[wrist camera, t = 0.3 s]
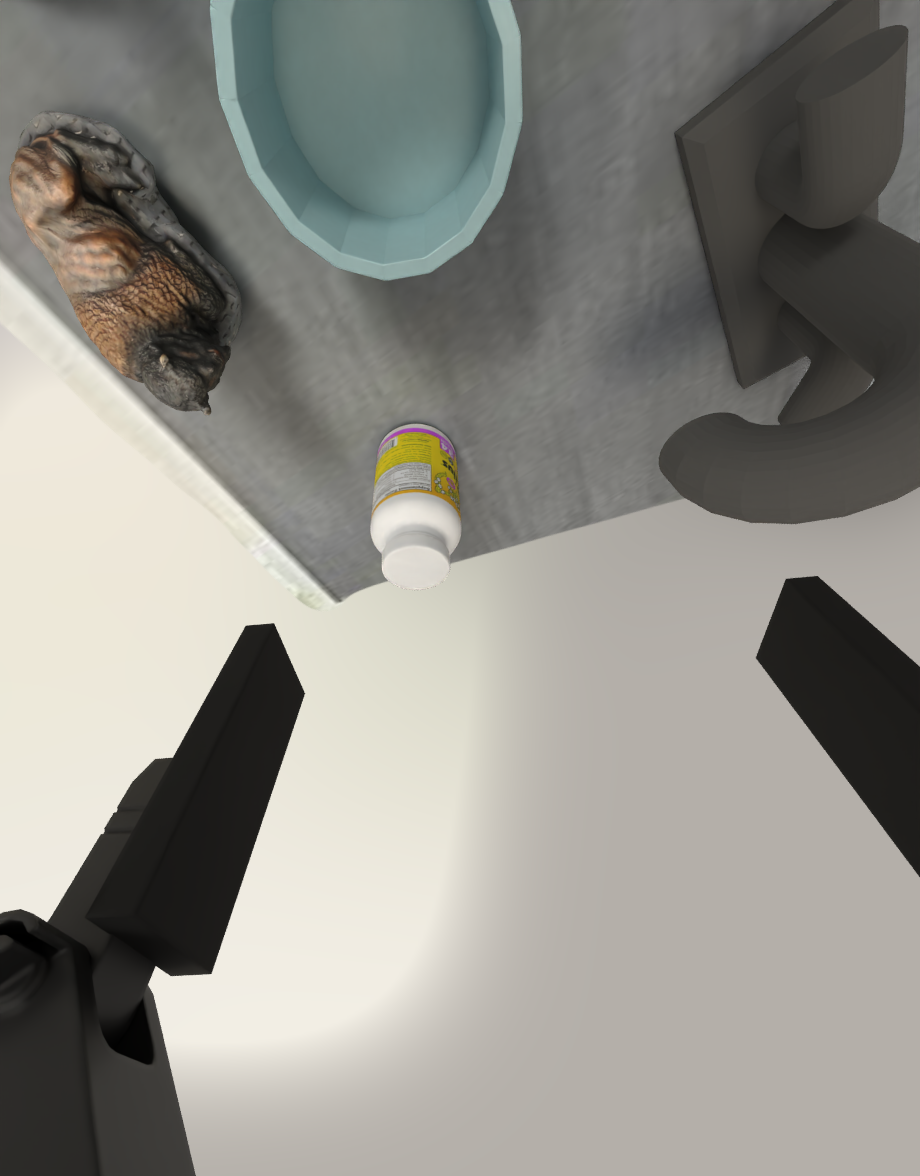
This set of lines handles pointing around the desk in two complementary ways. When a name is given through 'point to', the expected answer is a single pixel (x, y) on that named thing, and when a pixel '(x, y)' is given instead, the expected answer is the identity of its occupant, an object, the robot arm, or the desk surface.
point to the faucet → (808, 278)
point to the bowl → (373, 121)
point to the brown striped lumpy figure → (125, 258)
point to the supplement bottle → (416, 506)
